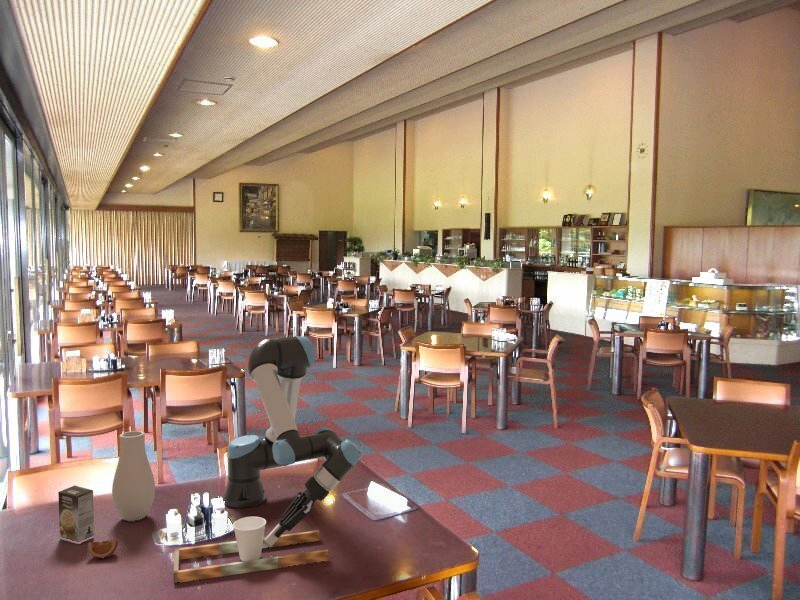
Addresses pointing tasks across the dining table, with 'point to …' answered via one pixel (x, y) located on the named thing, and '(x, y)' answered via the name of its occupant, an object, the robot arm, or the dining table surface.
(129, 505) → the vase
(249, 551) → the cup
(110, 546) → the fruit slice
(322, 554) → the track
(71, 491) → the coffee box
